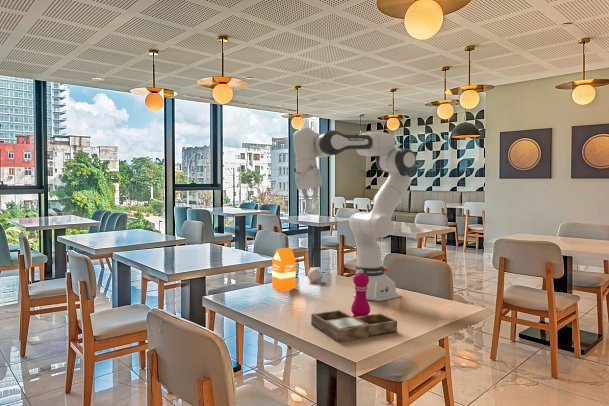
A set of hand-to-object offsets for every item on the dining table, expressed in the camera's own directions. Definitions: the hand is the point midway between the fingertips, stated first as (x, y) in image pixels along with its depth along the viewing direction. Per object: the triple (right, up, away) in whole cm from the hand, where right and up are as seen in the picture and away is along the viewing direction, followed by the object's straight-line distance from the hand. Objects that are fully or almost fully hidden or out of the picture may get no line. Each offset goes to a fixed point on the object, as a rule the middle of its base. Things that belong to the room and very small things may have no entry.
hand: (311, 199), depth 187 cm
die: (+3, -44, +45) cm, 63 cm away
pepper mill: (+19, -47, -18) cm, 54 cm away
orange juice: (-13, -44, +32) cm, 56 cm away
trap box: (+15, -47, -27) cm, 56 cm away
